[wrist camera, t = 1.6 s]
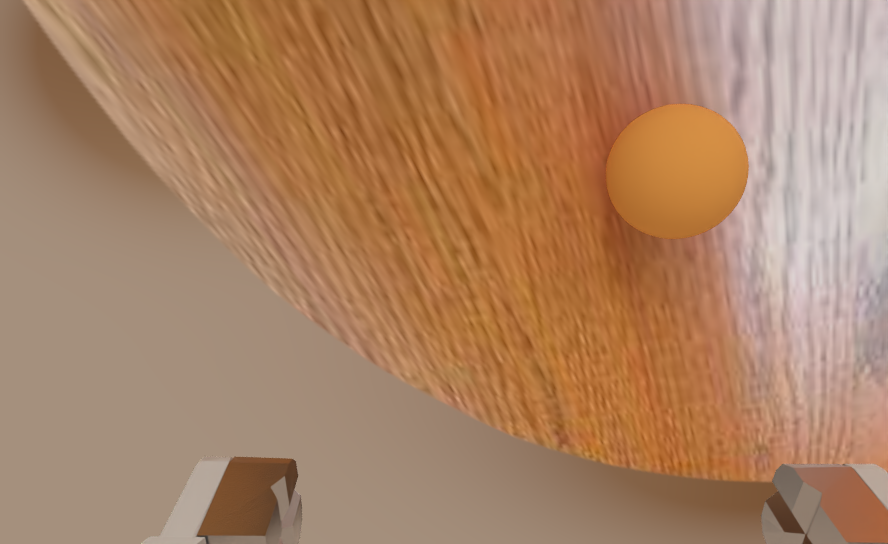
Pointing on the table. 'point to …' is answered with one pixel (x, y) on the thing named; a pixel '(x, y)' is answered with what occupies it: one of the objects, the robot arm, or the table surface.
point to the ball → (677, 171)
